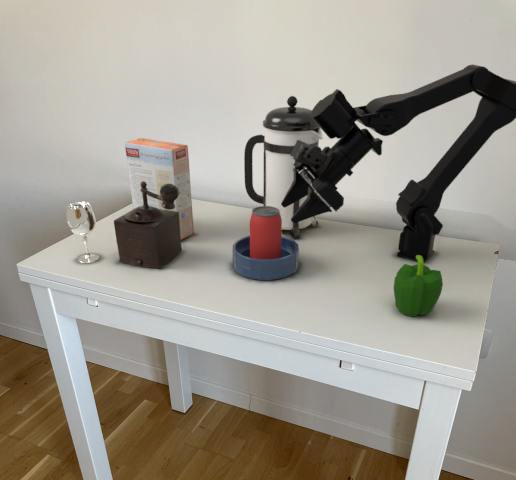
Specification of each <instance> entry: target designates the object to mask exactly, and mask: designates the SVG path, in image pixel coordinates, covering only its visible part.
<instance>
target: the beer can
mask: <svg viewBox="0 0 516 480" xmlns="http://www.w3.org/2000/svg"><path fill="white" fill-rule="evenodd" d="M279 212H280V210H279V209H277V208H275V207H271V206H264V205H261V206H256V207H254V208H252V210H251V215H250V218H249V236H250V258H254V259H278V258H281V236H282V234H283V233H282V232H283V231H282V219H281V216H280V213H279Z"/></svg>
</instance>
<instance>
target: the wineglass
mask: <svg viewBox="0 0 516 480" xmlns="http://www.w3.org/2000/svg"><path fill="white" fill-rule="evenodd" d="M95 215H96V214H95V213H94V209H93V207H92V205H91V203H90V202H87V201H75V202H71V203H68V204H67V205H66V222H67V223H66V224H67V226H68V229H69V230H70V231H71V232H72V233H73V234H74V235H77V236H82V242H83V244H84V247H85V254H84V255H81V256H79V257H78V259H77V261H78V262H79V263H82V264H91V263H95V262H97V261H98V260H99V259H100V256H99V255H97V254H94V253H92V254H91V253H90V252H89V246H88V241H89V240H88V239H89V238H88V237H87V236H88V235H90V234H91V233H93V232H94V231H95V230H96V227H97V219H96V216H95Z"/></svg>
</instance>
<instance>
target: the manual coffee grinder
mask: <svg viewBox="0 0 516 480" xmlns="http://www.w3.org/2000/svg"><path fill="white" fill-rule="evenodd" d="M140 184H141V187H142V188H141V190H140V192H142V196H143V206H139V207H137V208H135V209H133V208H132V209H131V210H130V211H128V212H126V213H125V214H122V215H121V216H119V217H117V218H115V219H114V220H113V226H114V232H115V239H116V245H117V251H118V258H119V259H118V261H119V263H122V264H127V265H131V266H136V267H146V268H151V269H152V268H153V269H161V268H163V267H165V266H168V265H169V263H171V262H172V261H173V260H175V259H176V258H177V257H178V256H179V255H180V254H182V251H183V248H182V240H181V236H180V221H179V212H175V211H169V210H171V209H174V208H175V204H174V201H175V200H176V199H177V198H178V196H179V193H180V192H179V190H178V188H177V187H176V186H175V185H173V184H165V185H163V186H162V187H161V188H160V195H161V196H160V195H158V194H155V193H152V192H150V191H148V190H147V188H146V186H147V184H146V182H144V181H142V182H141V183H140ZM147 195H149V196H151V197H153V198H156V199H159V200H161V201H163V202H162V204H161V206H162V207H163V208H164V209H167V210H162V209H158V208H156V207H153V206H149V205H148V201H147ZM168 209H169V210H168Z"/></svg>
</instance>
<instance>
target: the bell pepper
mask: <svg viewBox="0 0 516 480" xmlns="http://www.w3.org/2000/svg"><path fill="white" fill-rule="evenodd" d="M416 259H417V260H418V261H417V264H412V265H411V264H408V263H404V264H403V265H402V266H401V267H400V268H399V270H398V271H397V273H396V276H395V277H394V280H393V294H394V295H393V296H394V302H395V307H396V309H397V310H398V312H400V313H401V314H402V315H405V316H409V317H417V315H420V316H427V315H428V314H430V313H431V312H432V311H433V310H434V308H435V306H436V305H437V304H438V301H439V299H440V296H441V295H442V291H443V285H444V284H443V283H444V282H443V276H442V272H441V270H436V269H430V268H429V267H428V266H427V265H425V262H423V257H422V256H421V255H417V256H416Z"/></svg>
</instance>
